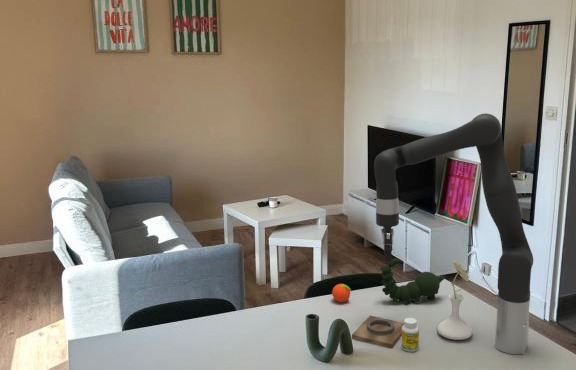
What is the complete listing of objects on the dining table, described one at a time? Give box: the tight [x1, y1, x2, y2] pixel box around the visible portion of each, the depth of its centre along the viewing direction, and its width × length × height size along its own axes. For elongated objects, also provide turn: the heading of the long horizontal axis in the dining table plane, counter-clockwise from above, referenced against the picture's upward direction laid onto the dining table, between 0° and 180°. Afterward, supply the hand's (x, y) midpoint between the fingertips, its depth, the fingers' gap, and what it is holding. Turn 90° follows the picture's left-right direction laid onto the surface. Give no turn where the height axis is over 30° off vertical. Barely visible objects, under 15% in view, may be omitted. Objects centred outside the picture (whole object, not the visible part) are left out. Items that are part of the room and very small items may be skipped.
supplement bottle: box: [401, 317, 420, 353], centre depth 179 cm, size 5×5×10 cm
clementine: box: [331, 283, 352, 303], centre depth 215 cm, size 8×7×7 cm
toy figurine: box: [380, 257, 447, 306], centre depth 213 cm, size 9×19×25 cm
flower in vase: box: [436, 260, 473, 341], centre depth 186 cm, size 13×11×25 cm
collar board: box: [351, 315, 404, 349], centre depth 190 cm, size 14×16×3 cm
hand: (387, 257), depth 189 cm, fingers open, 8 cm apart
